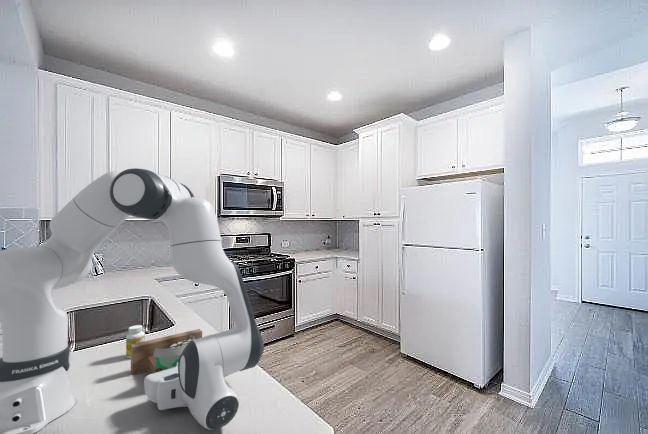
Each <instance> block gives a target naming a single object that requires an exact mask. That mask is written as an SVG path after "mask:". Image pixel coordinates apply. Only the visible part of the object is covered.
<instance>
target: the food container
mask: <svg viewBox="0 0 648 434" xmlns="http://www.w3.org/2000/svg"><path fill="white" fill-rule="evenodd" d="M192 340H195V338H194V336H192V335H190V338H188V339H186V340H183V341H180V342H175V343H173V344H171V345H169V346H168V347H166V348H163V349H157V348H155V351H154V355H153V357H156V367H157V372H160V371H163V370H167V369H170V368H173V367H176V363H177V362H178V361H179V357H180V355H181V353H182V352H183V350H184V348H185V347H186V345H187V344H188V343H189V342H190V341H192Z"/></svg>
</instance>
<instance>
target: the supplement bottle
mask: <svg viewBox="0 0 648 434" xmlns="http://www.w3.org/2000/svg"><path fill="white" fill-rule="evenodd" d="M143 330H144V329H143V325H141V324H136V325H132V326H129V327H128V334H127V335H126V337H125V340H126V341H125V355H126V358H127V359H130V360H131V344H135V343H140V342H144V341H146V333H145V332H144V331H143Z"/></svg>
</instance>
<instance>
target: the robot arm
mask: <svg viewBox="0 0 648 434" xmlns="http://www.w3.org/2000/svg"><path fill="white" fill-rule="evenodd" d="M129 217H133V218H134V217H135V218H140V219H144V220H149V221H153V222H154V221H155V222H157V221H158V222H162V223H164V224H165V226H166V228H167V230H168V235H169V236H168V237H169V248H170V257H171V262H172V266H173V269H174V270H175V272H176V273H177V274H178V275H179V276H180V277H182V278H183V279H185V280H187V281H190V282H193V283H198V284H203V285H209V286H212V287H215V288H218V289H220V290H222V292H223V293H224V294H225V296H226V298H227V302H228V306H229V308H230V312H231V315H232V319H233V323H234V325H233V327H232V328H230V329H227V330H224V331H221V332H216V333H214V334H209V335H205V336H202V338H198V339H195V340H192V341H190V342H189V343H188V344H187V345H186V347H185V348H184V350H183V352H182V353H181V355H180V357H179V361H178V362H177V363H176V367H173V368H170V369H167V370H163V371H160V372H156V373H153V374H149V373H148V375H146V376H145V377H144V381H143V384H144V386H143V387H144V388H143V389H144V393H145V395H146V396H147V398H148V399H149V400H150V401H151V402H153V403H154V404H155V403H156V405H157V408H158V410H160V411H163V410H168V409H174V408H188V411H189V412H190V414H191V415H192V417H194V419H195V421H197V422H198V423H199V425H200V426H201V427H202V428H205V429H206V430H210V431H215V430H219V429H221V428H223V427H225V426H226V425H228V424H229V423H230V422H231V421H232V420H233V419H234V418H235V416H236V415H237V412H239V411H238V410H239V407H240V400H239V398H238V395H237V394H236V392H235V390H234V389H233V388H232V386H231V385H230V383H228V381H227V380H225V377H229V376H230V375H232V374H233V375H234V374H235V373H237V372H243V371H245V370H249V369H252V368H255V367H256V366H258V364H259V362H260V360H261V359H262V357H263V355H264V350H265V344H264V338H263V336H262V334H261V332H260V329H259V327H258V324H257V321H256V319H255V316H254V312H253V308H252V305H251V302H250V299H249V295H248V292H247V288H246V285H245V282H244V279H243V276H242V273H241V270H240V268H239V267H238V265H237V263H236V262H234V261H232V260H230V259H229V258H228V256H227V254H226V253H225V250H224V249H223V244H222V237H221V231H220V225H219V222H218V218H217V215H216V212H215V208H214V206H213V204H212V203H211V202H210V201H209V200H207V199H205V198H203V197H195V195H194V193H193V192H192V190H191V189H190V188H189V187H188V186H187V185H185V184H183V183H181V182H179V181H177V180H175V179H173V178H171V177H170V176H167V175H162V174H159V173H157V172H154V171H151V170H149V169H146V168H145V169H144V168H134V167H133V168H128V169H124V170H122V171H117V170H113V171H112V170H111V171H108V172H106V173H104V174H102V175H100V176H99V177H98V178H96V179H94V180H93V181H91V183H89V184H87V185H86V186H85V187H84V188H83V189H81V190H79V192H78V193H77V194H76V195H75V196H74V197H73V198H72V199H71V200H70V201H68V202H67V203H66V204H65V205H64V206H63V208H61V209H60V210H59V211H58V212H57V213H56V214H55V215H54V216H53V217H52V218H51V220H50V221H49V230H50V232H51V236H50V237H49V238H48V239H47V241H45V242H44V243H42V244H40V245H37V246H30V247H27V246H26V247H16V248H7V249H1V250H0V326H1V338H2V339H1V341H2V348H1V349H2V353H1V354H2V357H1V356H0V434H35V433H37V432H39V431H41V429H43V428H44V427H45V426H47V424H48V423H51V422H52V421H54V420H56V419H58V418H59V417H61V416H62V415H64V414H65V413H67V412H68V411H69V410H70V409H71V408H72V407H74V405H75V403H76V398H75V395H74V393H73V389H72V386H71V385H72V384H71V380H70V373H69V369H70V366H71V356H72V355H71V354H72V353H71V346H70V344H69V342H68V341H69V315H68V313H67V312H66V311H65V310H64V309H61V308H59V307H57V306H56V305H55V303H54V300H53V298H52V291H54V290H58V289H61V288H65V287H68V286H69V287H70V286H71V285H74V284H75V283H78V282H79V281H81V280H83V279H84V278H86V277H87V276H88V275H89V274H90V273H91V270H92V268H93V261H92V260H93V259H92V258H93V256H94V254H95V252H96V251H97V250H98V248H99V247H100V246H101V245H102V244H103V243H104V242H105V241H106V240H107V239H108V238H109V237H110V236H111V235H112V234H113V233H114V232H115V231H116V230H117V229H118V228H119V227H120V226H121V225H122V224H123V223H124V222H125V221H126V220H127V219H128V218H129Z"/></svg>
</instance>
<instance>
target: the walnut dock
mask: <svg viewBox="0 0 648 434" xmlns="http://www.w3.org/2000/svg"><path fill="white" fill-rule="evenodd" d="M190 335H192V336H194V338H195V339H198V338H202V337H203V331H202V330H201V329H200V328H198V329H193V330H189V331H185V332H180V333H175V334H170V335H167V336H162V337H158V338H153V339H150V340H149V339H148V340H145V341H144V342H140V343H135V344H131V359H130V373H131V375H132V376H133V375H137V374H141V373H143V372H145V373H146V372H148V375H149V374H153V373H156V372H157V367H156V357H153V355H154V351H155V348H157V349H163V348H166V347H168V346H169V345H171V344H173V343H175V342H180V341H183V340H186V339H188V338H190Z"/></svg>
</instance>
